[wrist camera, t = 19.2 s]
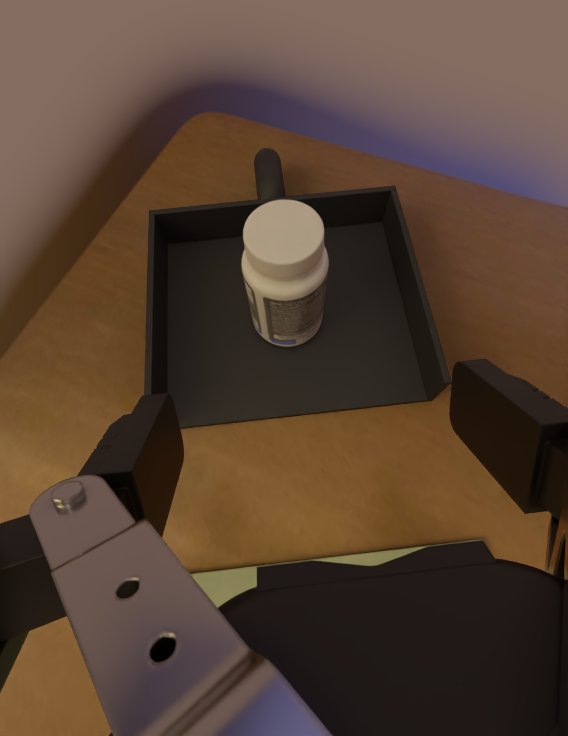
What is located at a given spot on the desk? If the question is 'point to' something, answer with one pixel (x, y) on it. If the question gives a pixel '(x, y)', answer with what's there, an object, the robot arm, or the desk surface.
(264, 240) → the pill bottle
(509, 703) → the robot arm
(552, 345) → the desk surface
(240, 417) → the dustpan
